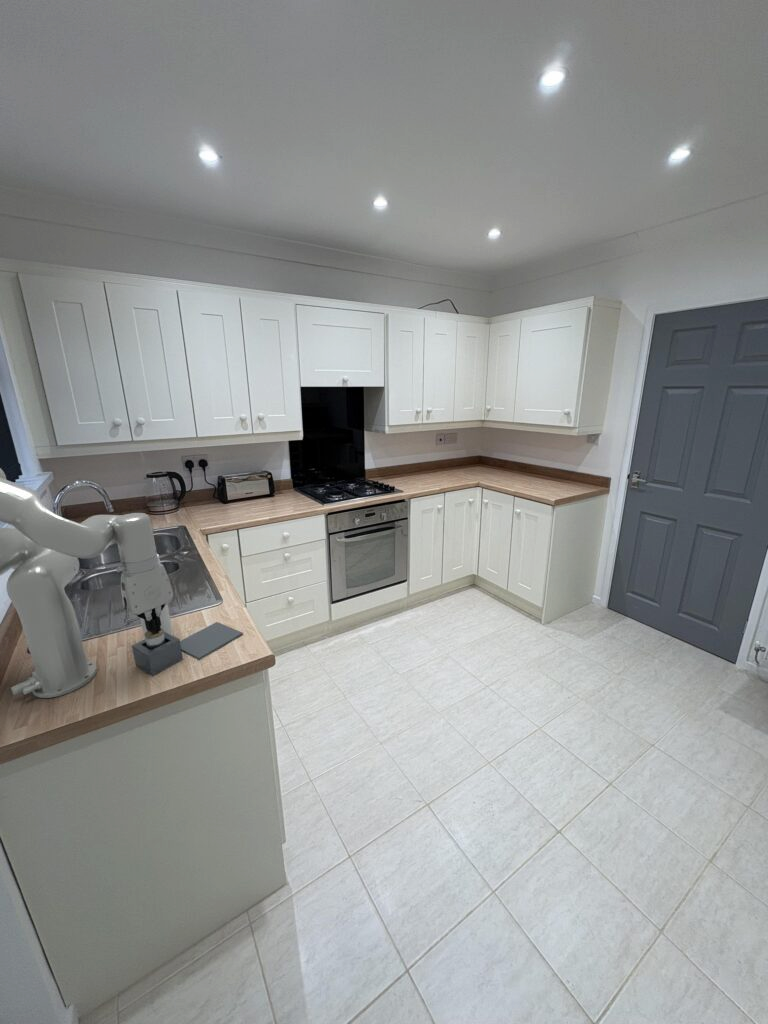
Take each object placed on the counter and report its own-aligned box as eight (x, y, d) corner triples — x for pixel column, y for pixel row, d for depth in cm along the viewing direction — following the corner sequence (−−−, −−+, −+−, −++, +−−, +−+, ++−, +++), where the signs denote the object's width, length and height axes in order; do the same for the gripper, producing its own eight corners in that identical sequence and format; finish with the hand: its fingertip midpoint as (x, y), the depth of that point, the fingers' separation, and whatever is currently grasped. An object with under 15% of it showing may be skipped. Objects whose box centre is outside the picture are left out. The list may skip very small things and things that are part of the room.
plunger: (153, 657, 101) (149, 638, 100) (144, 652, 103) (141, 633, 102) (169, 649, 105) (166, 630, 103) (161, 644, 107) (157, 626, 105)
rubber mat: (199, 660, 106) (198, 658, 105) (173, 646, 112) (172, 644, 112) (243, 634, 117) (242, 632, 117) (217, 623, 123) (217, 621, 123)
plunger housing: (152, 676, 100) (148, 655, 98) (135, 666, 104) (131, 645, 102) (183, 659, 106) (179, 639, 104) (166, 650, 110) (162, 630, 109)
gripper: (115, 578, 90) (131, 650, 94) (179, 556, 102) (190, 621, 107) (99, 572, 94) (115, 641, 98) (162, 551, 106) (174, 614, 110)
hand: (154, 630), depth 102 cm, fingers closed
